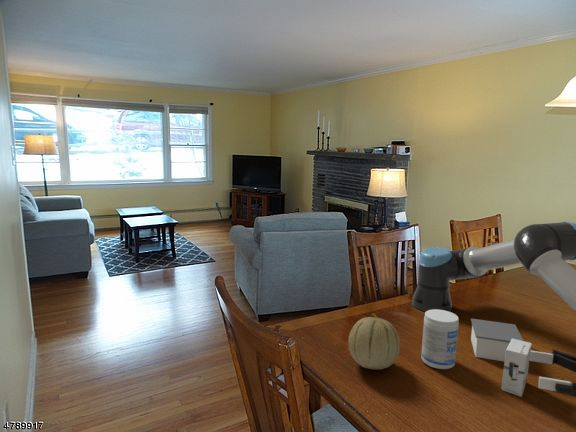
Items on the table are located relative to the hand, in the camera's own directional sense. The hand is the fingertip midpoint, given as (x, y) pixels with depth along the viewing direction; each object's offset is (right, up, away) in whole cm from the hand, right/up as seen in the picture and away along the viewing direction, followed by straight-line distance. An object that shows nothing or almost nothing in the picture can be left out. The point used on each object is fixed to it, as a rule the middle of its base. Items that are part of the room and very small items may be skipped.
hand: (531, 367), depth 102 cm
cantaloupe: (-39, -4, +12) cm, 41 cm away
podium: (+1, -3, +21) cm, 22 cm away
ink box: (-3, -6, +3) cm, 8 cm away
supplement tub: (-19, -4, +15) cm, 24 cm away
